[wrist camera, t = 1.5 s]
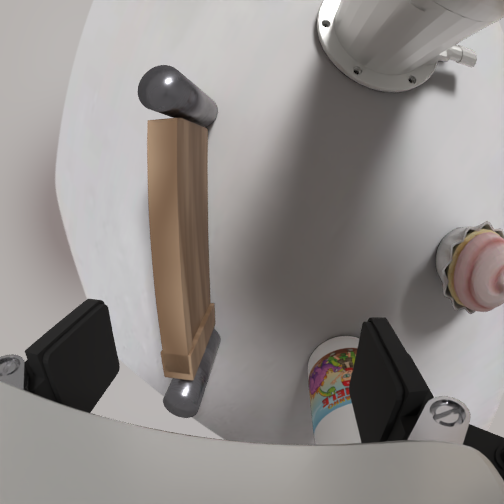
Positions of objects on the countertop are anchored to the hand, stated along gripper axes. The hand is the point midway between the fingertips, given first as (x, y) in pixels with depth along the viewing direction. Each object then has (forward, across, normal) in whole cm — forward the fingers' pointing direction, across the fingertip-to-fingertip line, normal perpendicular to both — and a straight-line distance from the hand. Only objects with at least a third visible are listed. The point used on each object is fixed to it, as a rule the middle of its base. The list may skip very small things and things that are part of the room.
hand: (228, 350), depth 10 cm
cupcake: (+21, -21, +2) cm, 30 cm away
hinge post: (+20, +6, -11) cm, 24 cm away
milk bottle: (+21, -10, +15) cm, 27 cm away
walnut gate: (+19, +6, 0) cm, 20 cm away
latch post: (+21, +6, +12) cm, 25 cm away
